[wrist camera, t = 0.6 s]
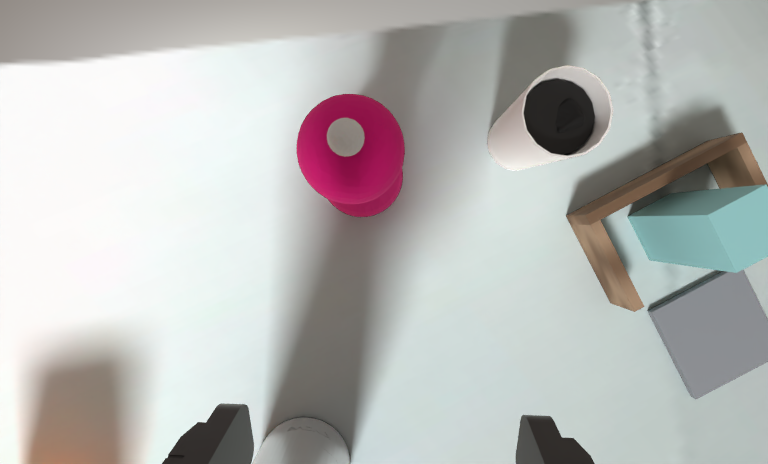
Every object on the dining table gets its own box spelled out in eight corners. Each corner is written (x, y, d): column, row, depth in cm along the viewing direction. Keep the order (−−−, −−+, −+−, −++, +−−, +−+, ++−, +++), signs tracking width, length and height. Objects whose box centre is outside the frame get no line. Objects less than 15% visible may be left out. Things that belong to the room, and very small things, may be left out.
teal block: (693, 237, 37) (794, 242, 28) (649, 260, 37) (736, 273, 28) (671, 193, 37) (766, 184, 28) (627, 216, 37) (707, 215, 28)
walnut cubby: (750, 229, 37) (789, 230, 33) (610, 302, 37) (634, 311, 33) (707, 140, 37) (742, 132, 33) (565, 215, 37) (585, 215, 33)
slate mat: (777, 350, 37) (784, 353, 37) (690, 396, 37) (696, 399, 37) (735, 264, 37) (741, 265, 36) (647, 310, 37) (651, 312, 36)
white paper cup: (533, 97, 36) (591, 50, 26) (559, 159, 36) (627, 135, 26) (472, 124, 36) (507, 87, 26) (498, 186, 36) (543, 172, 26)
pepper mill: (401, 145, 36) (427, 53, 16) (399, 218, 36) (421, 216, 16) (328, 143, 36) (264, 48, 16) (326, 216, 36) (261, 211, 16)
